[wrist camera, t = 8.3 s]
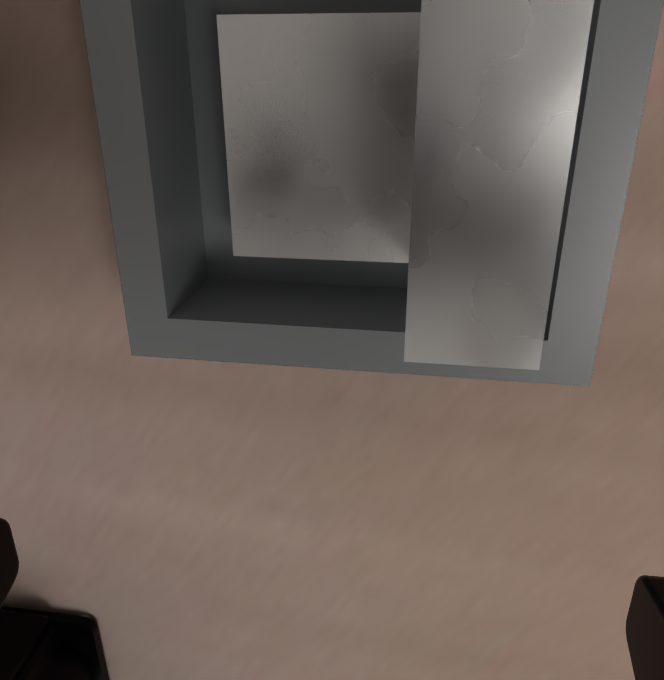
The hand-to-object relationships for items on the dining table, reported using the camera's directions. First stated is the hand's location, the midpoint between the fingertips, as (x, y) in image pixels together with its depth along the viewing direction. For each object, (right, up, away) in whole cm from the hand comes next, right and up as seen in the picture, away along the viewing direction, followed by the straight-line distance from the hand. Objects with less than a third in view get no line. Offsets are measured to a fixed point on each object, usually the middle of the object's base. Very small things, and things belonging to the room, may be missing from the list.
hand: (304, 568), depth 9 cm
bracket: (+2, +9, +9) cm, 13 cm away
